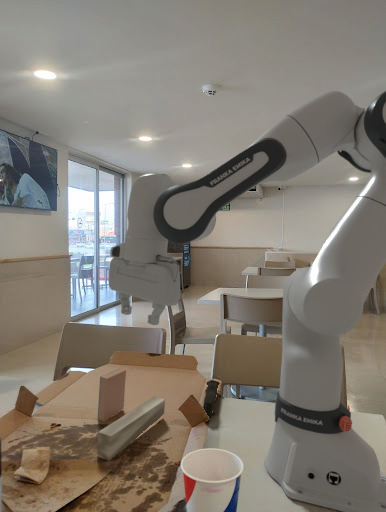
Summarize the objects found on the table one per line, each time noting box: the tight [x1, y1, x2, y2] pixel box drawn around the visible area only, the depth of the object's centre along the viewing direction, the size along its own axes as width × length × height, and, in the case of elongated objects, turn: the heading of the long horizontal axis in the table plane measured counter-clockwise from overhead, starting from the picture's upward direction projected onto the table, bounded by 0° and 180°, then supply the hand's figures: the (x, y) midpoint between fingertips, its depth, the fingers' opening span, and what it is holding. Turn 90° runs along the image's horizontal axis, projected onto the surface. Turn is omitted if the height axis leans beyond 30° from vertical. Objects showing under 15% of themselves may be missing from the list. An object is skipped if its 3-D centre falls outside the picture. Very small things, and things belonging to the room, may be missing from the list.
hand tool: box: [202, 379, 221, 420], centre depth 97 cm, size 19×4×5 cm, turn 169°
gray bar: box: [96, 396, 166, 462], centre depth 80 cm, size 3×20×5 cm, turn 153°
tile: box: [97, 368, 127, 423], centre depth 88 cm, size 2×7×10 cm, turn 153°
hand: (139, 319), depth 77 cm, fingers open, 8 cm apart
